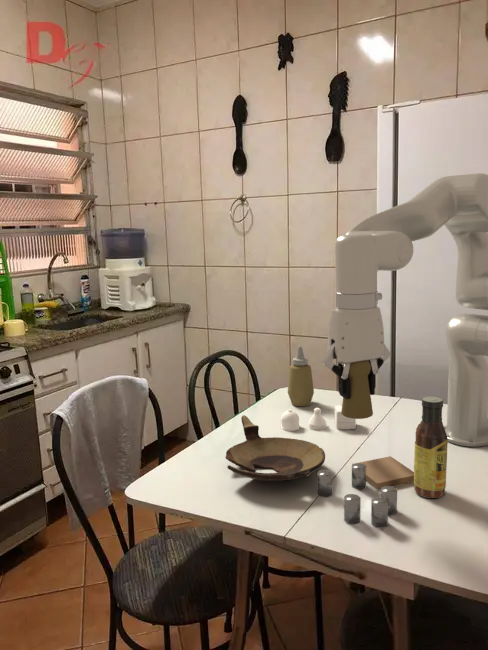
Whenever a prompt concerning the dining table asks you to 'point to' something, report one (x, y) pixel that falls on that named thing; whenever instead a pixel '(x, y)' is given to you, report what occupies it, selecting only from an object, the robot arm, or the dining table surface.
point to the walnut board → (387, 473)
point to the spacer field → (353, 502)
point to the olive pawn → (358, 392)
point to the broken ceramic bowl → (273, 456)
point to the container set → (316, 420)
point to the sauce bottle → (430, 451)
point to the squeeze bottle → (300, 380)
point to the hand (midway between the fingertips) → (356, 393)
